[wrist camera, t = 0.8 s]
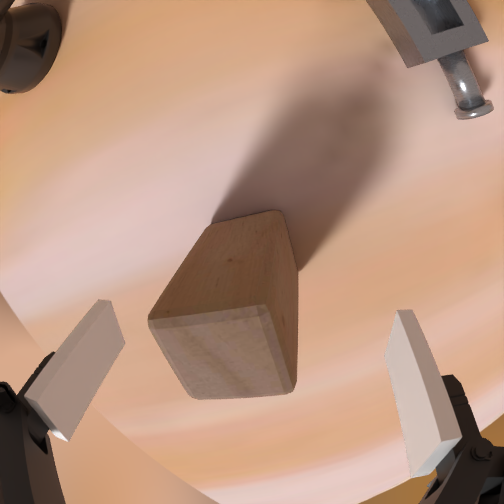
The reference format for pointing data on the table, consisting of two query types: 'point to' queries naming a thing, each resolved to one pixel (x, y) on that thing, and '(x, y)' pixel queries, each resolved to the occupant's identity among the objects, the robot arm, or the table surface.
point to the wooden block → (233, 311)
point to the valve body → (438, 43)
